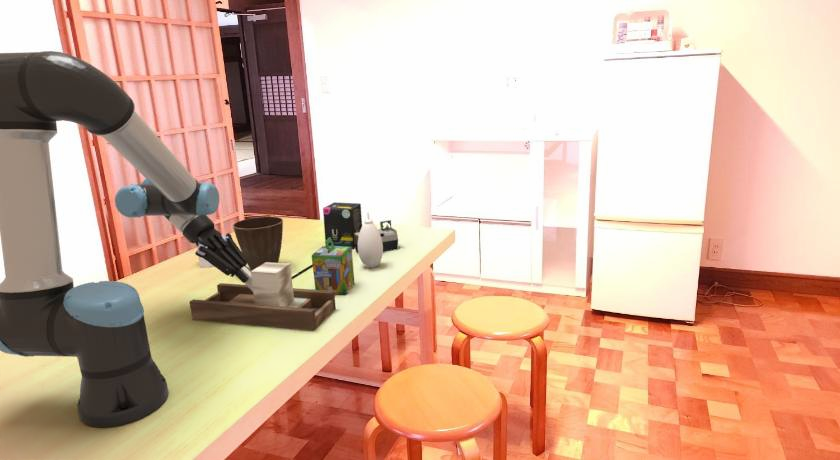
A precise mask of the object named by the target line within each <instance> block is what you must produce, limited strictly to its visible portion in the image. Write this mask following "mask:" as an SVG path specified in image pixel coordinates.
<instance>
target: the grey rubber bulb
mask: <svg viewBox="0 0 840 460" xmlns="http://www.w3.org/2000/svg"><path fill="white" fill-rule="evenodd" d="M363 222H364V223H362V228H361V230H360V233H359V237H358V253H357V254H358V257H359V259H360V261H361V263H362V264H363V265H365V266H366V268H370V269H374V268H375V267H377V266H378V265H379V263H381V261H382V258H383V255H384V252H383V244H382V239H381V236H380V233H379V231H378V227H377V225H376V224H375V223H374V222H373V219H370V215H369V212H367V219H365V220H364V221H363Z"/></svg>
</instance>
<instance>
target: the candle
mask: <svg viewBox="0 0 840 460" xmlns="http://www.w3.org/2000/svg"><path fill="white" fill-rule="evenodd" d="M196 248H197V249H196V251H197V250H198V247H197V246H196ZM197 257H198V262H199V267H200V268H205V269H207V268H213V267H215V266H213V265H212V264H210V263H209V262H208V261H206V260H205V259H204V258H201V257H199V256H197Z"/></svg>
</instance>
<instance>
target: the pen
mask: <svg viewBox="0 0 840 460" xmlns="http://www.w3.org/2000/svg"><path fill="white" fill-rule="evenodd" d="M311 269H313V264H311V265H309V266H307V267H305V268H304V269H302V270H300V271H299V272H296V273H294V274H293V275H292V274H291V276H292V280H293V279H295V278H297V277H298V276H301V275H302V274H303V273H305V272H307V271H308V270H311Z"/></svg>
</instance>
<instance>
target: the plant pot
mask: <svg viewBox="0 0 840 460" xmlns="http://www.w3.org/2000/svg"><path fill="white" fill-rule="evenodd" d="M283 223H284V219H283V218H281V217H279V216H278V217H277V216H258V217H251V218H246V219H242V220H239V221H236V222H234V223H233V225H232V228H233V230H234V234H235V237H236V240H237V244H238V245H239V246H238V247H239V249H240V250H241V252H242V253H243V254H244V256H245V257H246V259H247V260H248V262H247V264H246V265H247V266H248V268H249V270H250V271H252V270H254V269H256V268H257V267H259V266H261V265H262V264H264V263H266V262H269V263H279V261H280V256H281V249H282V243H283V231H284V230H283V228H284V227H283V226H284V224H283Z"/></svg>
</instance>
